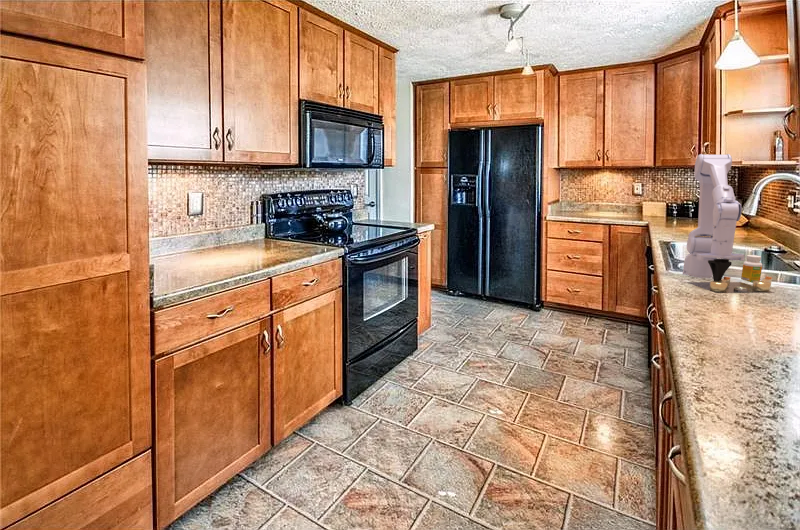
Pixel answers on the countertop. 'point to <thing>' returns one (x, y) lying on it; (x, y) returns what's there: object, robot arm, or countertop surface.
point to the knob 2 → (762, 284)
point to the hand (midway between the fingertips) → (716, 282)
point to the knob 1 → (720, 285)
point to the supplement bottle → (752, 268)
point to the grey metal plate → (730, 287)
